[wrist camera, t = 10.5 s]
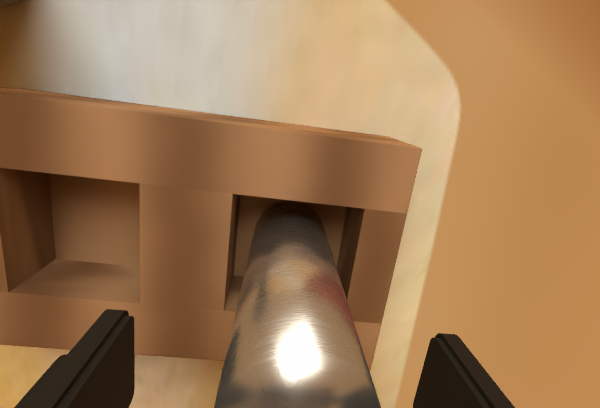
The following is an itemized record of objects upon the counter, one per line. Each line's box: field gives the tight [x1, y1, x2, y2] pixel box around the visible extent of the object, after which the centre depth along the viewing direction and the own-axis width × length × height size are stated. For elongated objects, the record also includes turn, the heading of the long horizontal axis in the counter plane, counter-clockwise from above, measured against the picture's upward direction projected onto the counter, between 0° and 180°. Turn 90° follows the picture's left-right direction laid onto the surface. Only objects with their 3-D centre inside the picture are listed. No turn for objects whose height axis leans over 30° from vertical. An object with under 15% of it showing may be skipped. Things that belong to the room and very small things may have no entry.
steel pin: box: [214, 201, 381, 408], centre depth 14 cm, size 4×4×12 cm
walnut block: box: [0, 88, 422, 371], centre depth 18 cm, size 20×12×5 cm, turn 83°
